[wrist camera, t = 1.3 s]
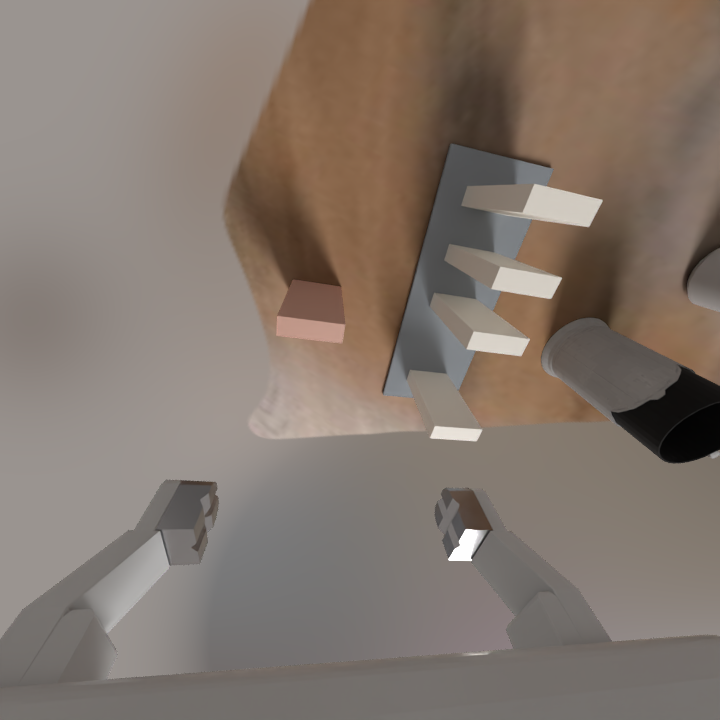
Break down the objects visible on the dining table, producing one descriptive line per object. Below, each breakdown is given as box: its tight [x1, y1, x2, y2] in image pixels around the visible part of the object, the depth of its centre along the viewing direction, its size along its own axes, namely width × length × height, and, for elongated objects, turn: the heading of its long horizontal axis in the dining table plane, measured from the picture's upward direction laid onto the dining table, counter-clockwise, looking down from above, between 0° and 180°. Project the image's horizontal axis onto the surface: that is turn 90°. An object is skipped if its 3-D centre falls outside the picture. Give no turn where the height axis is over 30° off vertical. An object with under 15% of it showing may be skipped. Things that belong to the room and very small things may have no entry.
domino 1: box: [276, 279, 345, 343], centre depth 26 cm, size 2×5×10 cm, turn 80°
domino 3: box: [444, 244, 562, 299], centre depth 25 cm, size 2×5×10 cm, turn 80°
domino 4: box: [430, 293, 530, 356], centre depth 27 cm, size 2×5×10 cm, turn 80°
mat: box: [383, 144, 554, 398], centre depth 32 cm, size 27×10×1 cm, turn 170°
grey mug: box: [541, 318, 720, 463], centre depth 32 cm, size 9×14×15 cm, turn 52°
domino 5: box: [407, 370, 482, 441], centre depth 32 cm, size 2×5×10 cm, turn 80°
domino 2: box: [461, 184, 603, 227], centre depth 22 cm, size 2×5×10 cm, turn 80°
